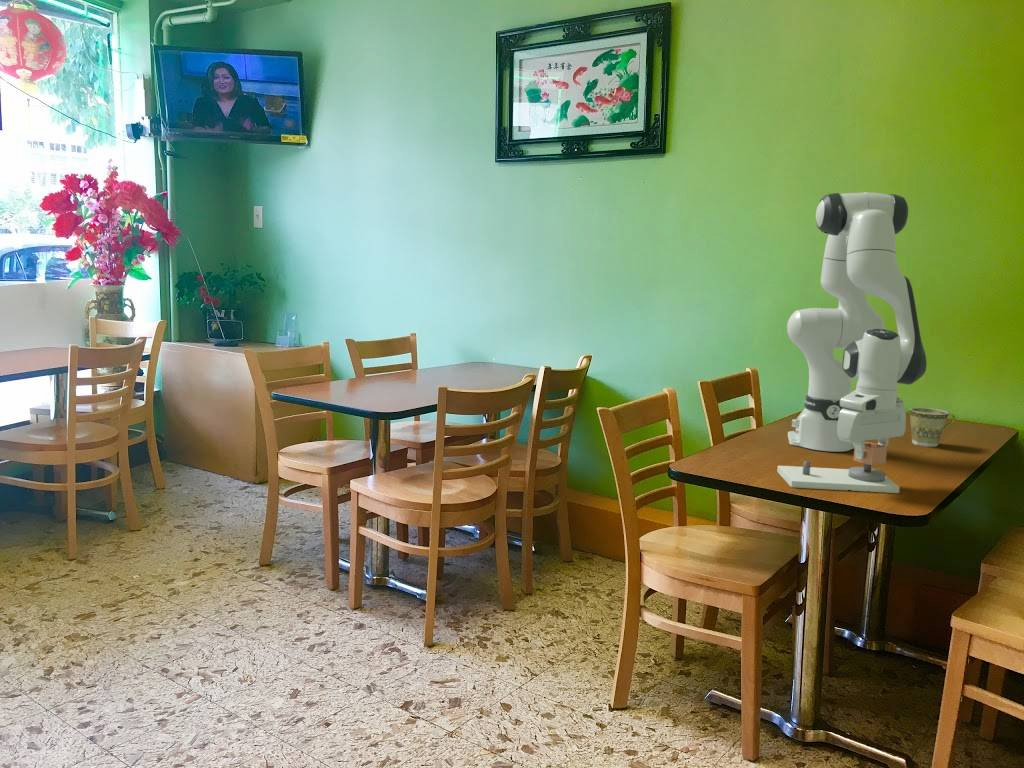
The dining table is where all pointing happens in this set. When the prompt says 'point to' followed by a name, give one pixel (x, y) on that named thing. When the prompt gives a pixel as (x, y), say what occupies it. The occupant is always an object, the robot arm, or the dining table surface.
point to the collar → (873, 454)
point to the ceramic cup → (928, 425)
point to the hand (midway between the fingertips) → (869, 457)
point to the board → (838, 478)
